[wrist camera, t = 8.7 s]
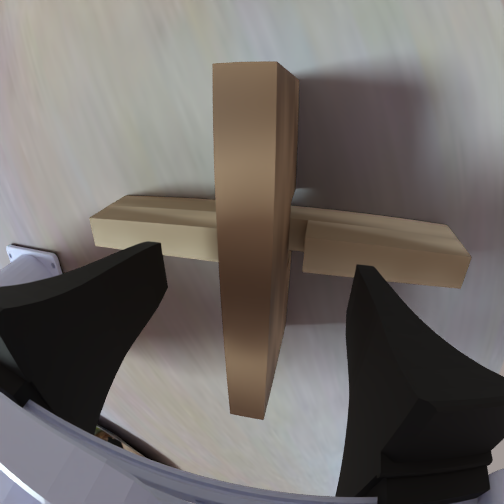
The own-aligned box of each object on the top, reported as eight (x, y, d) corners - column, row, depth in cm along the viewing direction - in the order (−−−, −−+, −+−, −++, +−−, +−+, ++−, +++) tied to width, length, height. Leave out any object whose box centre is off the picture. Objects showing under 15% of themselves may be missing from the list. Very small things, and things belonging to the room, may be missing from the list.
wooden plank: (285, 325, 19) (263, 419, 13) (260, 322, 19) (230, 413, 13) (299, 80, 12) (276, 61, 6) (264, 79, 13) (212, 63, 7)
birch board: (439, 252, 14) (460, 288, 11) (129, 220, 18) (95, 245, 15) (446, 225, 14) (471, 257, 11) (125, 195, 17) (89, 217, 14)
